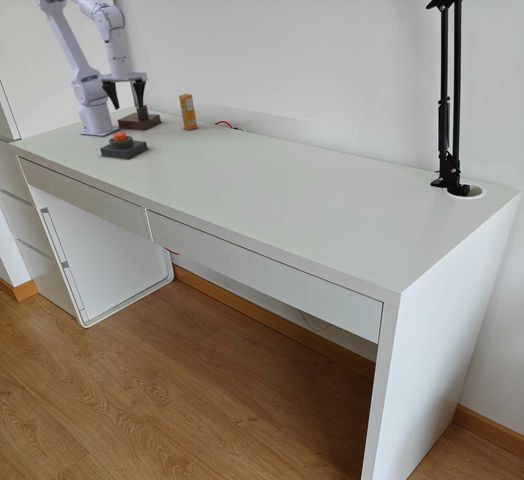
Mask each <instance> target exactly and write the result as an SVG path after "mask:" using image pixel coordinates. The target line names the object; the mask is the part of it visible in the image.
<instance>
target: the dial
mask: <svg viewBox="0 0 524 480" xmlns="http://www.w3.org/2000/svg"><path fill="white" fill-rule="evenodd" d="M135 108H136V109H135V110H136V113H137V115H138V119H139V120H146V119H149V114H150V113H149V110H148V106H147V104H143V108H141V109H139V106H137V107H135Z"/></svg>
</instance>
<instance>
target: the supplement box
mask: <svg viewBox="0 0 524 480" xmlns="http://www.w3.org/2000/svg"><path fill="white" fill-rule="evenodd" d="M178 98H179V104H180V111H181V116H182V121H183V127H184V129H185V130H188V131H192V130H195V129H197V128H198V124H197V117H196V111H195V105H194V99H193V94H190V93H188V92H187V93H184V94H181V95H178Z"/></svg>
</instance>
